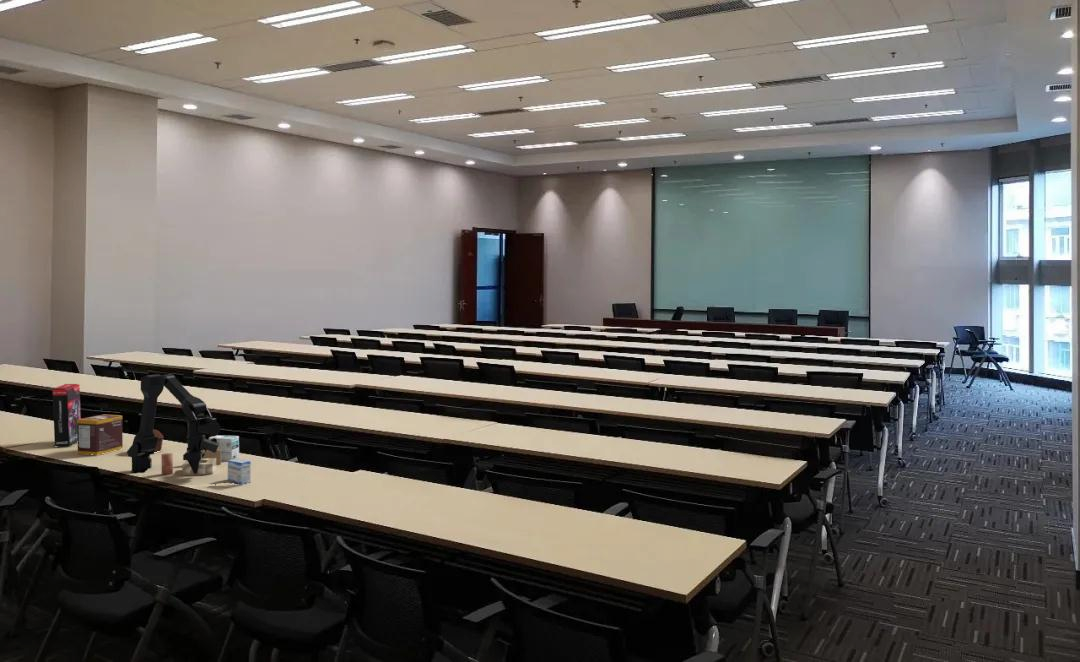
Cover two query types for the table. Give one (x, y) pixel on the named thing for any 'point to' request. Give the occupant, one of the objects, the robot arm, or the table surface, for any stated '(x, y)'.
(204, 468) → the beige ashtray
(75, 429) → the graphics card box
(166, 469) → the dowel
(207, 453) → the backstop board
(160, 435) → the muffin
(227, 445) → the light bulb box
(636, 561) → the table surface
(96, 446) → the supplement box
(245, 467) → the medicine box
